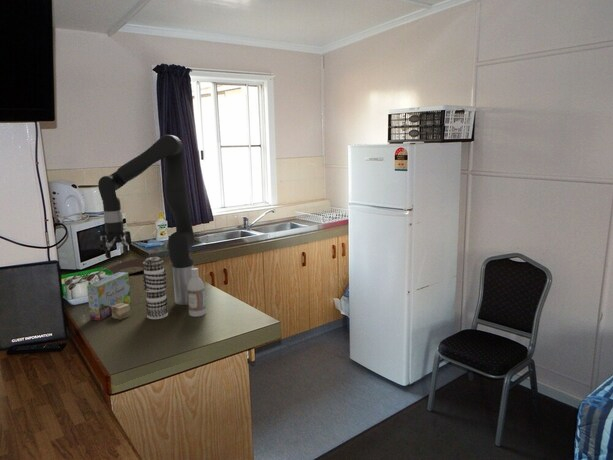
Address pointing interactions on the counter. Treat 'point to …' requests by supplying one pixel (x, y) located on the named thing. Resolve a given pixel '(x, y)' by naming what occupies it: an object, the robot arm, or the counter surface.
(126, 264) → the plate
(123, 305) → the maple block
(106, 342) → the counter surface
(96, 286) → the snack box
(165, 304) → the decorative candle
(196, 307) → the bath foam
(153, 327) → the counter surface
